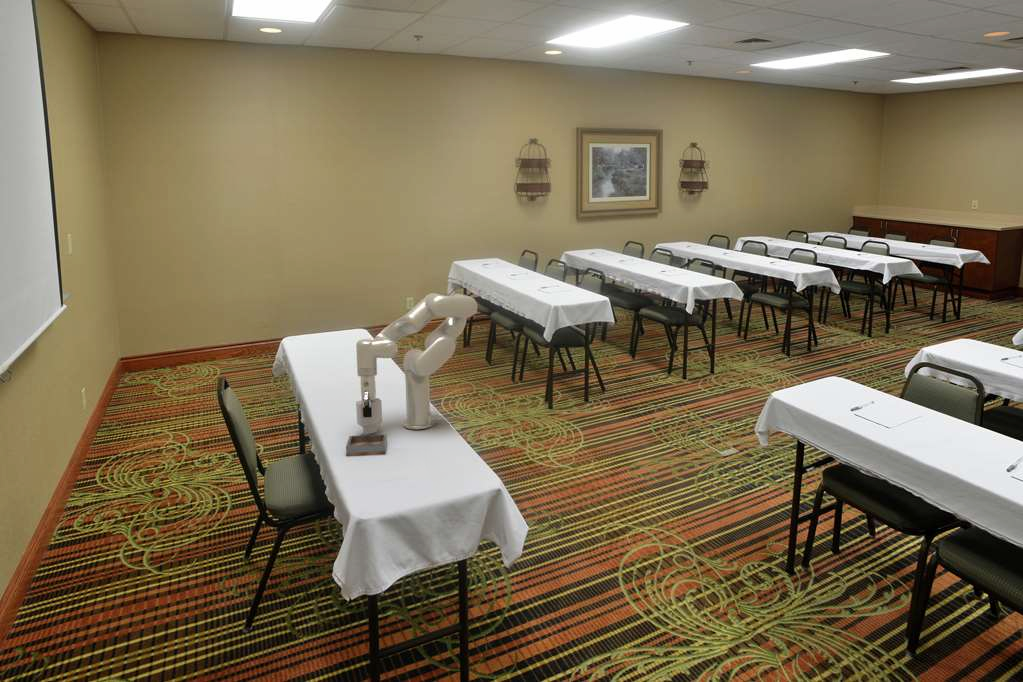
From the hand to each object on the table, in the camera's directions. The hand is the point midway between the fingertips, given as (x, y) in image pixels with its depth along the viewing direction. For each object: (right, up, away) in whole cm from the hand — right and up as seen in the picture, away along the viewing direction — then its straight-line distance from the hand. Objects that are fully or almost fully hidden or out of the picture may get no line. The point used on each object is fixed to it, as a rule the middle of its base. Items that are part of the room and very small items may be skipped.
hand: (368, 413), depth 260 cm
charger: (0, -10, +2) cm, 10 cm away
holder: (+2, -12, -12) cm, 17 cm away
